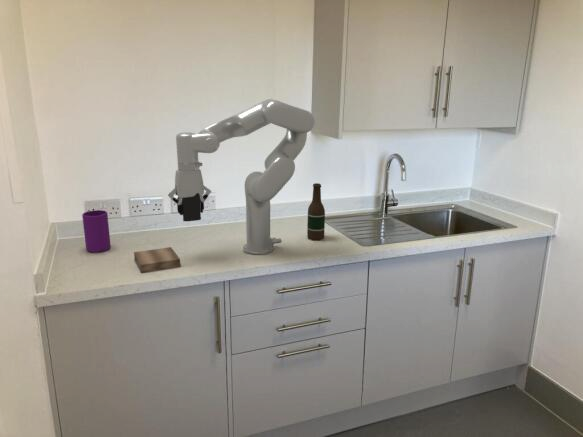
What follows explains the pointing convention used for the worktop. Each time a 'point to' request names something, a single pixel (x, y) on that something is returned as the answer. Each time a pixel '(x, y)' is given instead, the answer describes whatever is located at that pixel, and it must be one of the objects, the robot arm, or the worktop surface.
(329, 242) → the worktop surface
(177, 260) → the plinth
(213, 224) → the worktop surface
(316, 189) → the beer bottle
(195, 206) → the battery charger
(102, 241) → the mug
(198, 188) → the robot arm
